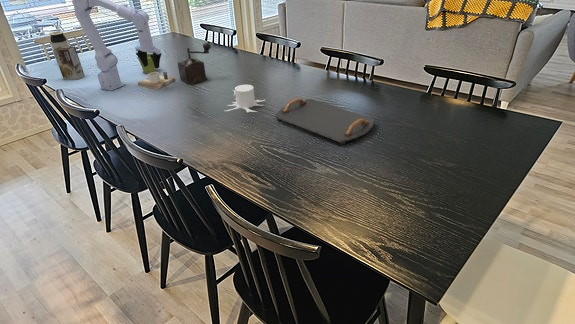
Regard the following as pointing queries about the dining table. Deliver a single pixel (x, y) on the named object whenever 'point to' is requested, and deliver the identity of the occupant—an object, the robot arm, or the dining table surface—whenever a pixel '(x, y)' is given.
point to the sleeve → (154, 78)
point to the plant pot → (150, 66)
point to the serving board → (325, 119)
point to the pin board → (164, 81)
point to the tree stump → (245, 98)
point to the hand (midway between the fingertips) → (151, 67)
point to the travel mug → (58, 39)
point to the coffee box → (68, 62)
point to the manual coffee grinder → (193, 68)
